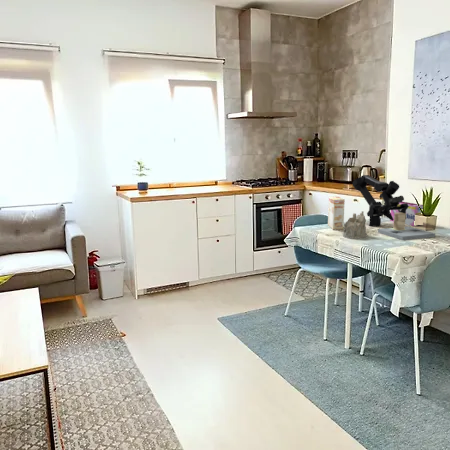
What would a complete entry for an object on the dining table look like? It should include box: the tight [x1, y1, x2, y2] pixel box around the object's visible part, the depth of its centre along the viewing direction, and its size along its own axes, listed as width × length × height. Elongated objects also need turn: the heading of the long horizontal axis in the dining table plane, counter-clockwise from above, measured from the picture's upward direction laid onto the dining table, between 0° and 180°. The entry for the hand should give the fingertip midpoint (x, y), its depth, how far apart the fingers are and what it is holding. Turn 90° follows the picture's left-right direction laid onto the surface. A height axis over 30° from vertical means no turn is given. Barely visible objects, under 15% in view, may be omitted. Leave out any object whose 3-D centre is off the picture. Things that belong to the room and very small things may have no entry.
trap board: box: [377, 226, 436, 241], centre depth 252 cm, size 22×22×2 cm
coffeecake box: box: [327, 196, 346, 231], centre depth 274 cm, size 15×7×20 cm, turn 179°
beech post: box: [392, 212, 406, 230], centre depth 256 cm, size 4×4×10 cm
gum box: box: [389, 201, 424, 227], centre depth 285 cm, size 24×8×14 cm, turn 21°
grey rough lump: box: [341, 211, 368, 240], centre depth 251 cm, size 16×16×15 cm
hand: (399, 219), depth 256 cm, fingers open, 9 cm apart
